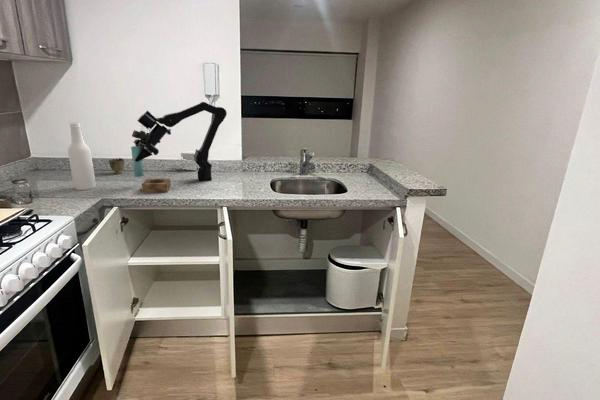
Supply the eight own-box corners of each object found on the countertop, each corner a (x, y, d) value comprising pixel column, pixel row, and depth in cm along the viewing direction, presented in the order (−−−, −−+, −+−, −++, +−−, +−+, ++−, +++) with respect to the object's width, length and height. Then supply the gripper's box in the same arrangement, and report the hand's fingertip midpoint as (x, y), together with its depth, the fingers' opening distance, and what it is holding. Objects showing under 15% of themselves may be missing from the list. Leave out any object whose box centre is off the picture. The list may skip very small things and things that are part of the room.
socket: (170, 186, 169) (170, 178, 168) (167, 192, 159) (166, 183, 158) (147, 186, 167) (146, 178, 166) (142, 192, 157) (141, 184, 156)
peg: (144, 174, 169) (141, 146, 164) (142, 176, 165) (139, 147, 161) (135, 174, 168) (132, 146, 164) (133, 176, 164) (130, 147, 160)
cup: (108, 173, 191) (106, 159, 189) (122, 171, 197) (120, 157, 194) (113, 175, 187) (111, 161, 184) (127, 173, 192) (125, 159, 189)
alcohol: (100, 186, 166) (90, 122, 157) (88, 190, 158) (77, 124, 149) (82, 185, 167) (72, 121, 158) (69, 190, 158) (58, 123, 149)
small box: (198, 169, 208) (197, 151, 205) (195, 171, 203) (194, 153, 199) (186, 168, 209) (184, 151, 205) (182, 170, 203) (180, 152, 200)
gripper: (135, 122, 168) (114, 146, 165) (149, 125, 155) (125, 152, 151) (153, 137, 176) (133, 161, 172) (168, 142, 162) (146, 167, 159)
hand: (134, 160), depth 163 cm, fingers closed on peg, 4 cm apart
